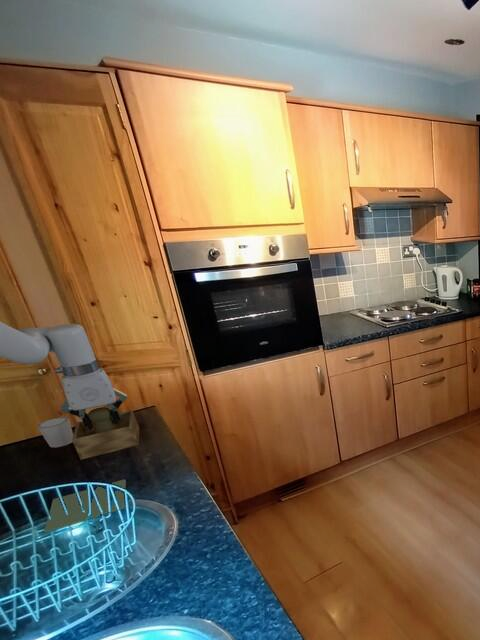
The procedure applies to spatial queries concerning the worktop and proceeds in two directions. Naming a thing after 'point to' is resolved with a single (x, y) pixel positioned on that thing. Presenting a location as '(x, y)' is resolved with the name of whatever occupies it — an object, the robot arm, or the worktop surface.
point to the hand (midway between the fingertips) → (104, 424)
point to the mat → (75, 510)
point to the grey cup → (56, 431)
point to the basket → (106, 437)
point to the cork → (102, 420)
